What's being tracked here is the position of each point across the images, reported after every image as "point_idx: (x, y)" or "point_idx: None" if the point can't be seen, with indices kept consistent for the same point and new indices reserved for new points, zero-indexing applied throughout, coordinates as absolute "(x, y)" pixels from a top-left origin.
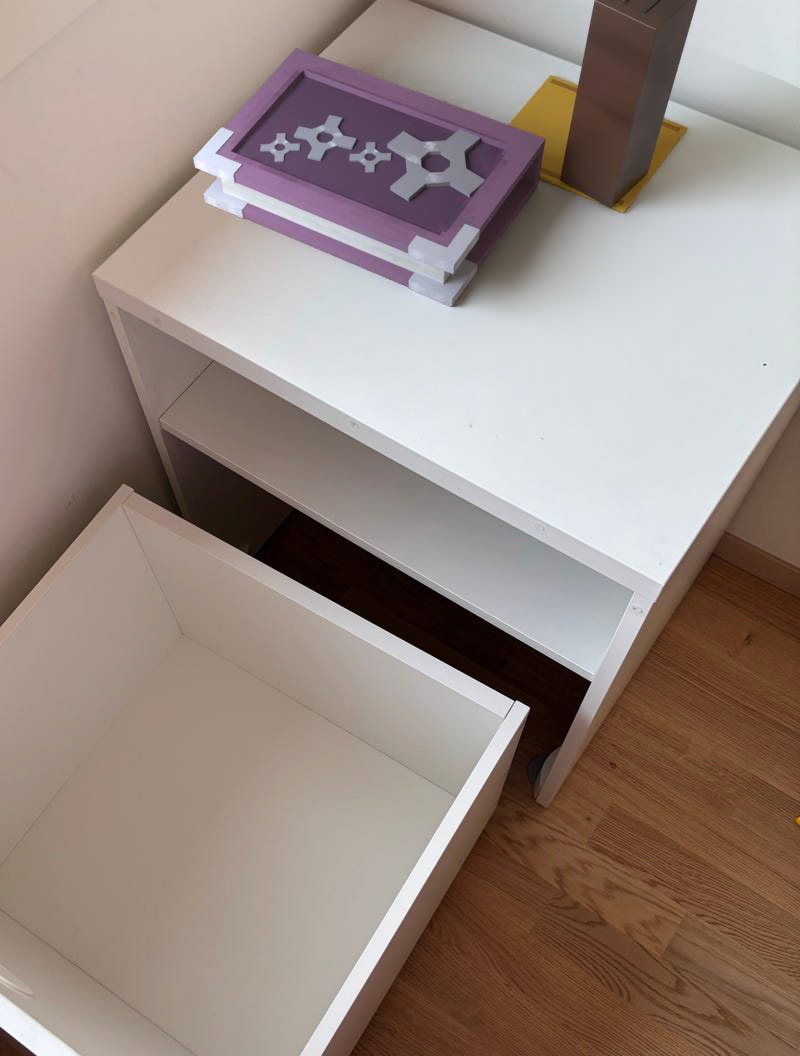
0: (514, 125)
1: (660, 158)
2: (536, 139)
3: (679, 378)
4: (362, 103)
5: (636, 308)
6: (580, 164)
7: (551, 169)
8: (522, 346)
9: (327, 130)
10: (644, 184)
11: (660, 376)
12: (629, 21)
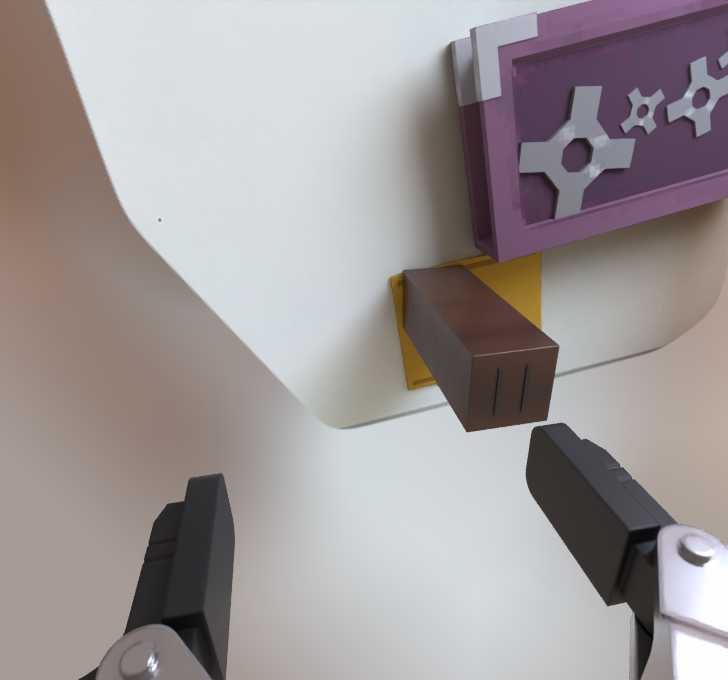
0: (535, 288)
1: (405, 348)
2: (505, 255)
3: (204, 142)
4: (685, 173)
5: (301, 188)
6: (454, 275)
7: (476, 270)
8: (355, 52)
9: (702, 108)
10: (396, 315)
11: (220, 129)
12: (506, 348)
